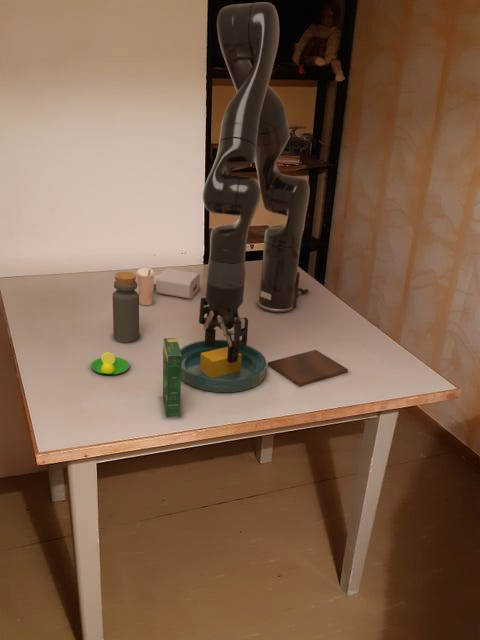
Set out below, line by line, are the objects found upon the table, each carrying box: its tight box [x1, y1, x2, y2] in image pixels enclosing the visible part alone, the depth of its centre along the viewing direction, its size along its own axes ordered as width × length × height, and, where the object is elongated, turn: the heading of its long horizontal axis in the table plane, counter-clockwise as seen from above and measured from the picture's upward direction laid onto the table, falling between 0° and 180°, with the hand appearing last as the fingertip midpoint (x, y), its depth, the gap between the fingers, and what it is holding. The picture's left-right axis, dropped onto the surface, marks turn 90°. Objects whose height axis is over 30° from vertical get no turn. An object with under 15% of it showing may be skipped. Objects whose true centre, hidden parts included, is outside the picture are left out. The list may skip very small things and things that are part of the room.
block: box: [200, 347, 242, 378], centre depth 143 cm, size 8×5×4 cm, turn 125°
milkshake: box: [136, 267, 156, 306], centre depth 170 cm, size 4×5×10 cm
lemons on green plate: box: [90, 351, 130, 375], centre depth 141 cm, size 8×8×3 cm
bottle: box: [112, 271, 140, 344], centre depth 151 cm, size 6×6×15 cm
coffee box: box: [162, 337, 182, 419], centre depth 126 cm, size 8×3×13 cm, turn 10°
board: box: [267, 349, 349, 387], centre depth 148 cm, size 14×11×1 cm
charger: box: [154, 268, 201, 300], centre depth 181 cm, size 5×9×15 cm
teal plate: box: [180, 339, 267, 393], centre depth 143 cm, size 19×19×3 cm
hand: (220, 353), depth 142 cm, fingers open, 8 cm apart
